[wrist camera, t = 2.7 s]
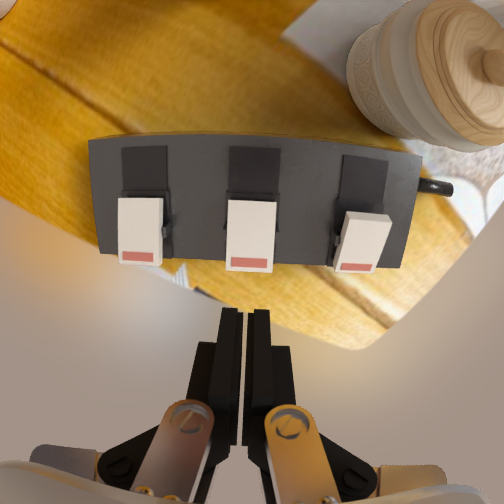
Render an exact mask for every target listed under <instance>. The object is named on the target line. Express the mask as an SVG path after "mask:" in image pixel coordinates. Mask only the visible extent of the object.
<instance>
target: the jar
mask: <svg viewBox="0 0 504 504" xmlns="http://www.w3.org/2000/svg"><path fill="white" fill-rule="evenodd" d="M346 79H347V84H348V88H349V91H350V94H351V96H352V99H353V100H354V102H355V104H356V106H357V107H358V109H359V110H360V111H361V113H362V114H363V115H364V116H365V117H366V118H367V119H368V120H369V121H370V122H371V123H372V124H374V125H375V126H376V127H378V128H379V129H381V130H382V131H384V132H386V133H388V134H390V135H392V136H395V137H399V138H403V139H409V140H422V141H424V142H427V143H429V144H433V145H437V146H444V147H448V148H451V149H453V150H456V151H460V152H469V153H471V152H478V151H482V150H485V149H487V148H489V147H490V146H496V145H500V144H502V143H504V29H503V27H502V26H501V25H500V24H499V23H498V22H497V20H496V19H495V18H494V17H492V16H491V15H490V14H489V13H488V12H487V11H485V10H484V9H483V8H481V7H480V6H478V5H476V4H475V3H473V2H470V1H468V0H411V1H409V2H408V3H406V4H405V5H404V6H403V7H402V8H401V9H398V10H396V11H394V12H393V13H391V14H390V15H389V16H387V17H386V18H385V19H384V20H383V21H382V22H381V23H379V24H377V25H374V26H372V27H370V28H369V29H367V30H366V31H365V32H363V33H362V34H361V35H360V36H359V37H358V38H357V39H356V41H355V42H354V44H353V45H352V48H351V50H350V52H349V55H348V59H347V64H346Z"/></svg>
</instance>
